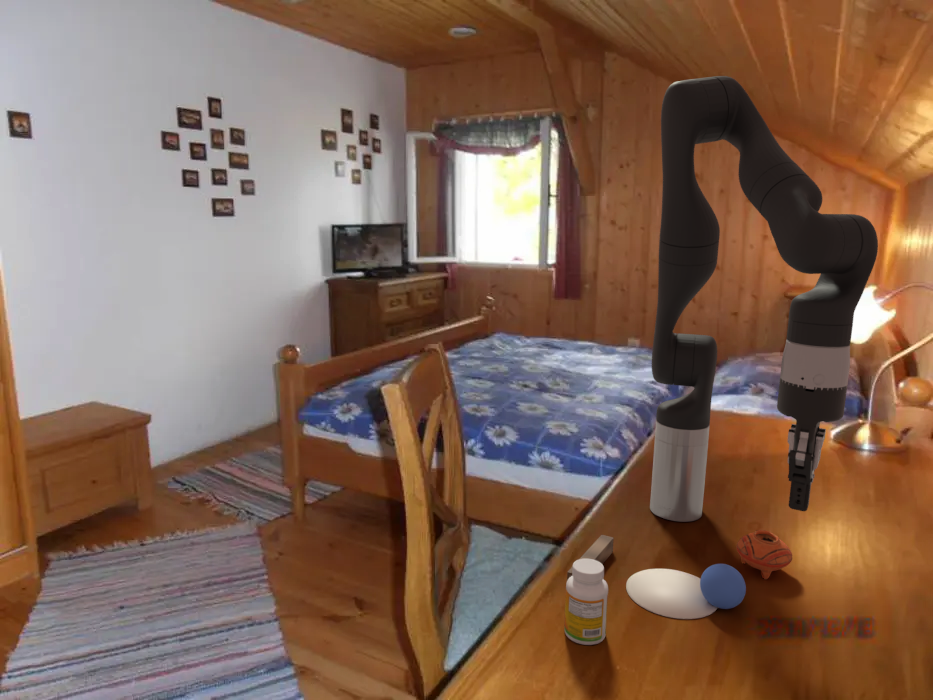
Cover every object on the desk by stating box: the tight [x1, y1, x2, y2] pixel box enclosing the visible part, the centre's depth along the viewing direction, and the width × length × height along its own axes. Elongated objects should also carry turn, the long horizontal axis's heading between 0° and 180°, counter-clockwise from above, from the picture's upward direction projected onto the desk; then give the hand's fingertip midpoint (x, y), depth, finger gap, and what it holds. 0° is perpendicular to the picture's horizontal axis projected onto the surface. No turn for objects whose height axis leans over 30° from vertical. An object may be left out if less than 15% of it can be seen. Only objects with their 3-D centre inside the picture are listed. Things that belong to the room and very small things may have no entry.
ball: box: [700, 563, 747, 610], centre depth 96 cm, size 6×6×6 cm
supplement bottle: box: [563, 558, 609, 646], centre depth 88 cm, size 5×5×10 cm
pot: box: [736, 529, 793, 580], centre depth 105 cm, size 8×8×7 cm
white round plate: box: [625, 568, 718, 620], centre depth 99 cm, size 13×13×1 cm
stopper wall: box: [566, 534, 615, 581], centre depth 105 cm, size 14×2×2 cm, turn 148°
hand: (798, 508), depth 88 cm, fingers closed
